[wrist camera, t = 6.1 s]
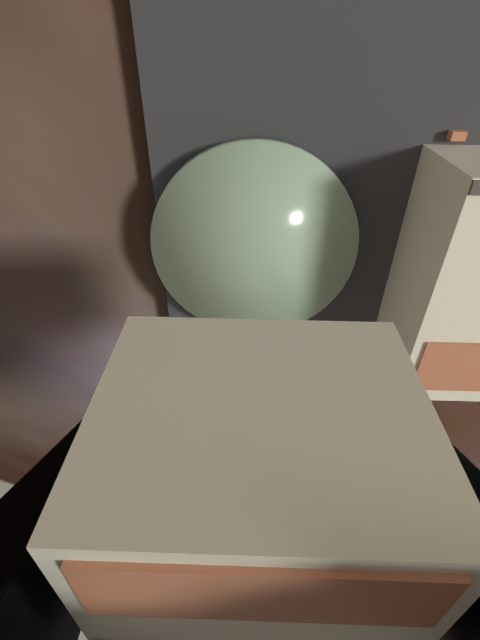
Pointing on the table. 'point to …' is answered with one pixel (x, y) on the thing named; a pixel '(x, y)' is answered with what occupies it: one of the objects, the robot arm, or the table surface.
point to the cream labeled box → (440, 273)
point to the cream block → (261, 490)
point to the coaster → (254, 232)
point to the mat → (315, 99)
